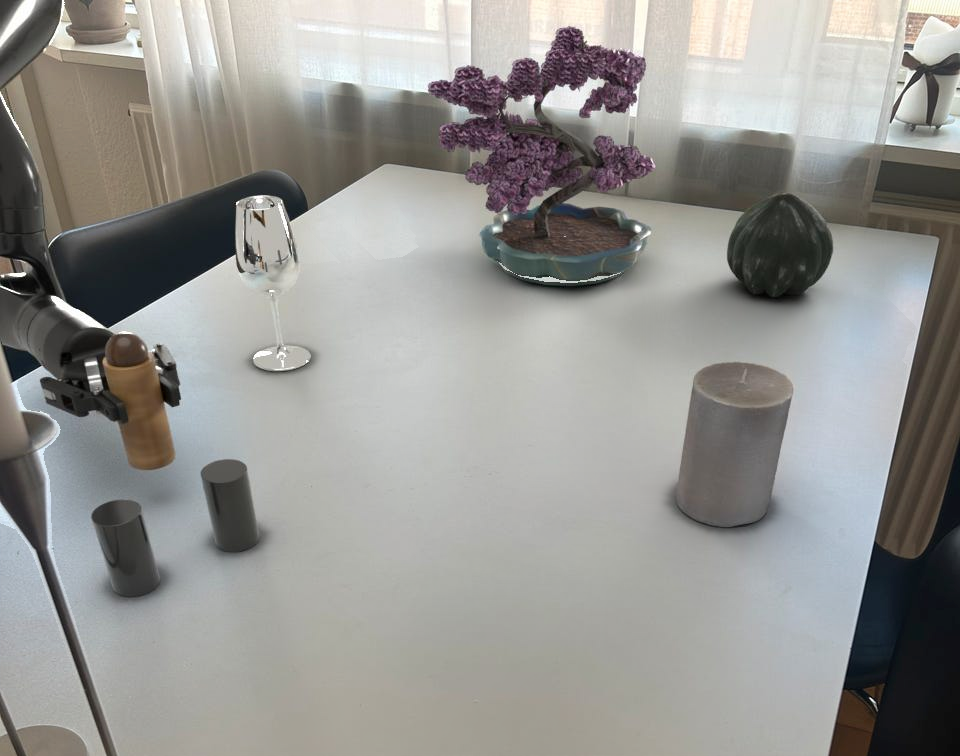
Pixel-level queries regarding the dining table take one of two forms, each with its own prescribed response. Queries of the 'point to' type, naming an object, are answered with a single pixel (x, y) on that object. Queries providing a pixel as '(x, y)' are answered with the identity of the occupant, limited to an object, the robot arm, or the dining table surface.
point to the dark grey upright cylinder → (126, 547)
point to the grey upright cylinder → (230, 505)
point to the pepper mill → (139, 401)
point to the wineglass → (268, 268)
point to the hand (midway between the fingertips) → (149, 405)
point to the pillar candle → (732, 442)
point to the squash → (780, 246)
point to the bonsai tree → (551, 163)
